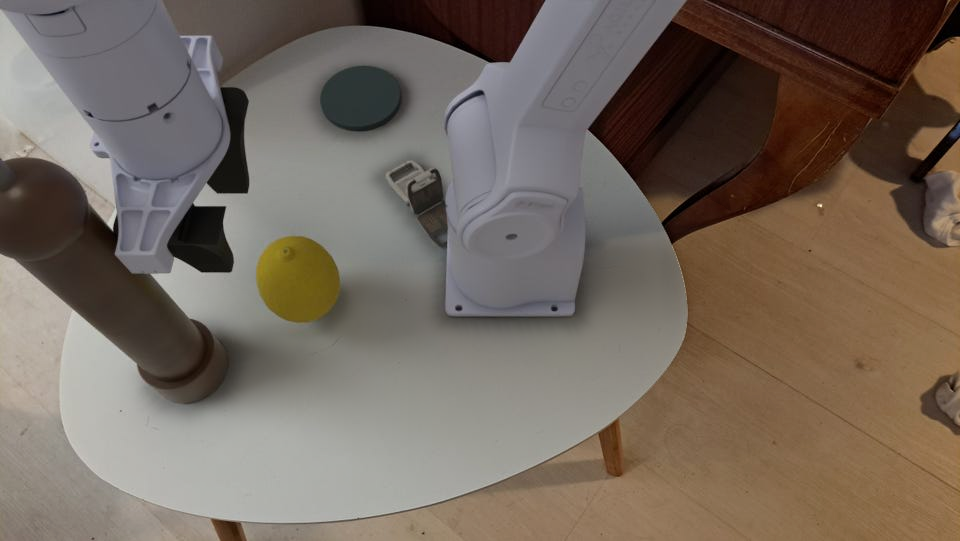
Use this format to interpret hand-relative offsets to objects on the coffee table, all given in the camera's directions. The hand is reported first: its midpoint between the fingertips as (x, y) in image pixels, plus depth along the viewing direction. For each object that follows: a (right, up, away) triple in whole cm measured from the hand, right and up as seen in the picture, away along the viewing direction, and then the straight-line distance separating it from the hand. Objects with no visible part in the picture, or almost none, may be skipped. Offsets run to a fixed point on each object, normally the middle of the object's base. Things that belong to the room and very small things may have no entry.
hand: (225, 227), depth 46 cm
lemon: (+4, -5, +8) cm, 10 cm away
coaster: (+6, +12, +17) cm, 22 cm away
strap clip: (+12, +2, +12) cm, 17 cm away
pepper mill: (-4, -10, +6) cm, 12 cm away
